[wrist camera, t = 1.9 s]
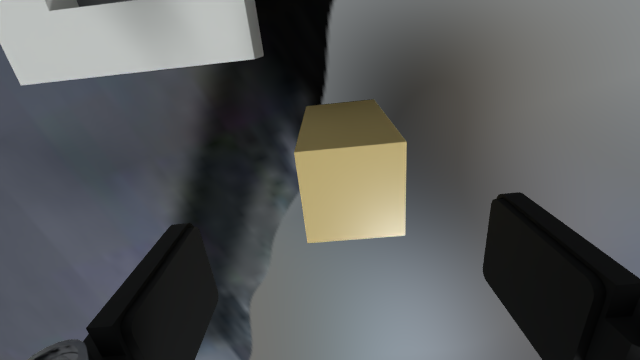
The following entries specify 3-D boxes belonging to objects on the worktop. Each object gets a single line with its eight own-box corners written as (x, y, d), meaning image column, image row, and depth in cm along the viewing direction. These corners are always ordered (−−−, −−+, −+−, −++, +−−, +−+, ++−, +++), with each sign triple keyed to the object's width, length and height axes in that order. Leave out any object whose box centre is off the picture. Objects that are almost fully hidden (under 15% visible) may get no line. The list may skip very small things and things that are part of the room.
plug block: (373, 99, 18) (406, 141, 11) (375, 162, 20) (405, 235, 13) (306, 106, 18) (294, 152, 11) (313, 168, 20) (307, 243, 13)
